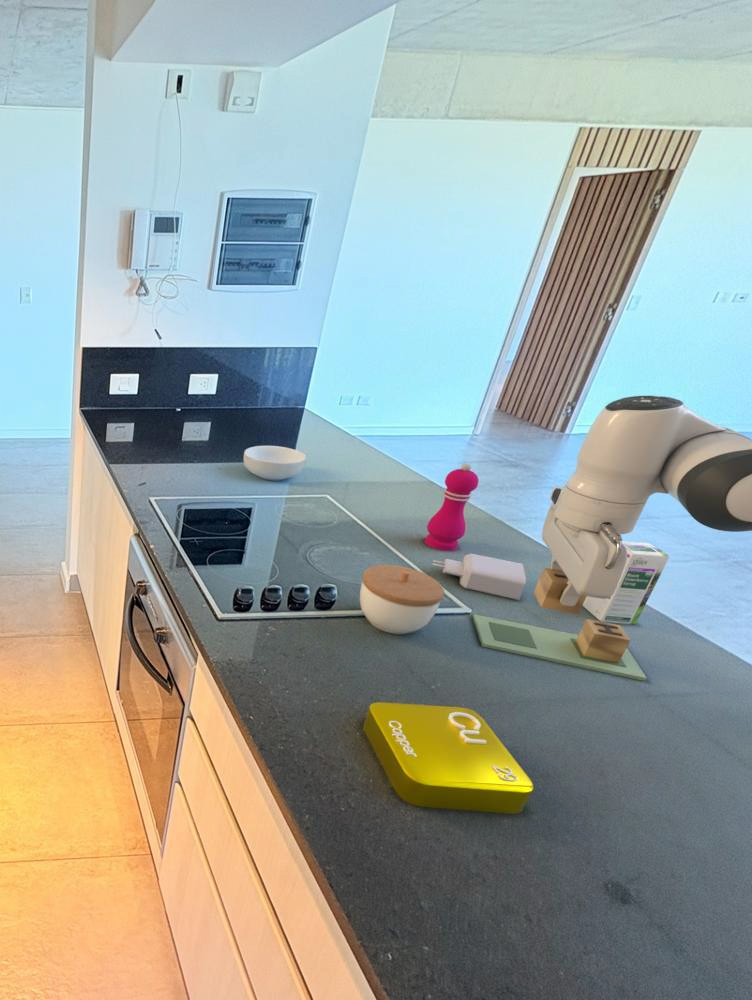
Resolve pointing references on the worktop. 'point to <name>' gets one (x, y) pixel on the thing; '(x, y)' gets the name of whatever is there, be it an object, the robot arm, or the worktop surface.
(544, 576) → the block
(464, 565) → the charger
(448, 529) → the pepper mill
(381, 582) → the lidded bowl
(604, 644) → the block
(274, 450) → the cereal bowl
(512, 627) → the word board
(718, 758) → the worktop surface
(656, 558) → the syrup box
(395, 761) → the element tile
